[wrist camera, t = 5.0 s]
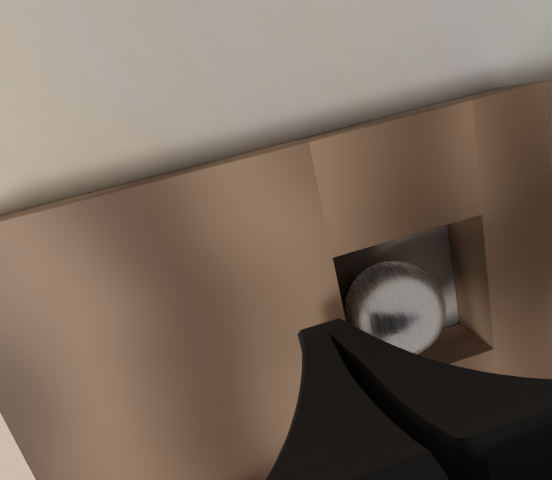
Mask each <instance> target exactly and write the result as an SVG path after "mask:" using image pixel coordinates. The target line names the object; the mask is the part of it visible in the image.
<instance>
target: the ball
mask: <svg viewBox="0 0 552 480" xmlns="http://www.w3.org/2000/svg"><path fill="white" fill-rule="evenodd" d="M346 317H347V321H348V323H349V324H351V325H353V326H355V327H357V328H359V329H361V330H363V331H365V332H367V333H369V334H370V335H372V336H375V337H377V338H379V339H381V340H383V341H385V342H387V343H390V344H392V345H394V346H397V347H399V348H402V349H404V350H407V351H409V352H412V353H414V354H419V353H421V352H423V351H425V350H426V349H428V348H429V347H430V346H431V345H432V344H433V343H434V342H435V341H436V340H437V338H438V337H439V335H440V333H441V331H442V329H443V326H444V322H445V317H446V308H445V301H444V297H443V294H442V292H441V290H440V288H439V286H438V285H437V283H436V282H435V281H434V279H433V278H432V277H431V276H430V275H429V274H427V273H426V272H425V271H424V270H422V269H420V268H419V267H417V266H415V265H412V264H410V263H406V262H402V261H386V262H381V263H377V264H375V265H372V266H370V267H369V268H367V269H365V270H364V271H363V272H362V273H360V274H359V275H358V276H357V278H356V279H355V280H354V282H353V283H352V285H351V287H350V289H349V291H348V294H347V298H346Z"/></svg>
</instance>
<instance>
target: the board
mask: <svg viewBox="0 0 552 480" xmlns="http://www.w3.org/2000/svg"><path fill="white" fill-rule="evenodd" d="M447 224H448V227H449V236H450V245H451V253H452V262H453V271H454V280H455V289H456V297H457V306H458V315H459V324H457V325H454V326H451V327H447V328H444V329H442V331H441V333H440V335H439V337H438V338H437V340H436V341H435V342H434V343H433V344H432V345H431V346H430V347H429V348H428V349H426V350H425V351H423V352H421V353H419V354H417V355H420V356H423V357H426V358H430V359H433V360H436V361H440V362H443V363H447V364H451V365H455V366H459V367H464V368H468V369H473V370H478V371H483V372H489V373H496V374H502V375H511V376H519V377H527V378H542V379H552V168H551V138H550V109H549V81H542V82H535V83H529V84H522V85H515V86H508V87H501V88H497V89H493V90H490V91H486V92H482V93H478V94H474V95H470V96H466V97H462V98H458V99H454V100H450V101H447V102H443V103H439V104H435V105H431V106H427V107H423V108H419V109H415V110H411V111H407V112H404V113H400V114H396V115H392V116H388V117H384V118H380V119H376V120H372V121H368V122H364V123H361V124H357V125H353V126H349V127H345V128H341V129H337V130H333V131H329V132H325V133H321V134H318V135H314V136H310V137H306V138H302V139H298V140H294V141H290V142H286V143H282V144H279V145H275V146H271V147H267V148H263V149H259V150H255V151H251V152H247V153H243V154H239V155H236V156H232V157H228V158H224V159H220V160H216V161H212V162H208V163H204V164H200V165H196V166H193V167H189V168H185V169H181V170H177V171H173V172H169V173H165V174H161V175H157V176H153V177H150V178H146V179H142V180H138V181H134V182H130V183H126V184H122V185H118V186H114V187H110V188H107V189H103V190H99V191H95V192H91V193H87V194H83V195H79V196H75V197H71V198H67V199H64V200H60V201H56V202H52V203H48V204H44V205H40V206H36V207H32V208H28V209H24V210H21V211H17V212H13V213H9V214H5V215H1V216H0V413H1V415H2V416H3V418H4V420H5V422H6V424H7V426H8V428H9V430H10V432H11V433H12V435H13V437H14V439H15V441H16V443H17V445H18V447H19V449H20V450H21V452H22V454H23V456H24V458H25V460H26V462H27V464H28V466H29V467H30V469H31V471H32V473H33V475H34V477H35V479H36V480H266V478H267V476H268V475H269V473H270V471H271V470H272V468H273V466H274V464H275V462H276V460H277V457H278V455H279V453H280V451H281V448H282V446H283V444H284V442H285V440H286V437H287V434H288V432H289V429H290V426H291V422H292V419H293V416H294V413H295V409H296V405H297V400H298V395H299V390H300V382H301V373H302V351H301V347H300V343H299V339H298V333H299V331H300V330H302V329H305V328H309V327H312V326H315V325H318V324H322V323H325V322H328V321H331V320H335V319H338V318H340V319H342V320H344V321H346V320H345V315H344V310H343V305H342V300H341V295H340V291H339V286H338V281H337V276H336V271H335V266H334V262H333V257H337V256H340V255H344V254H347V253H351V252H354V251H358V250H361V249H364V248H368V247H371V246H375V245H378V244H382V243H385V242H389V241H392V240H395V239H399V238H402V237H406V236H409V235H413V234H416V233H420V232H423V231H426V230H430V229H433V228H437V227H440V226H444V225H447Z"/></svg>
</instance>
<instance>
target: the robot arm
mask: <svg viewBox="0 0 552 480" xmlns="http://www.w3.org/2000/svg"><path fill="white" fill-rule="evenodd" d="M298 339H299V343H300V347H301V351H302V373H301V382H300V390H299V395H298V400H297V405H296V409H295V413H294V416H293V419H292V422H291V426H290V429H289V432H288V434H287V437H286V440H285V442H284V444H283V446H282V448H281V451H280V453H279V455H278V457H277V460H276V462H275V464H274V466H273V468H272V470H271V471H270V473H269V475H268V476H267V478H266V480H552V379H542V378H527V377H519V376H511V375H502V374H496V373H489V372H483V371H478V370H473V369H468V368H464V367H459V366H455V365H451V364H447V363H443V362H440V361H436V360H433V359H430V358H426V357H423V356H420V355H417V354H414V353H412V352H409V351H407V350H404V349H402V348H399V347H397V346H394V345H392V344H390V343H387V342H385V341H383V340H381V339H379V338H377V337H375V336H372V335H370V334H369V333H367V332H365V331H363V330H361V329H359V328H357V327H355V326H353V325H351V324H349V323H348V322H346V321H344V320H342V319H340V318H338V319H335V320H331V321H328V322H325V323H322V324H318V325H315V326H312V327H309V328H305V329H302V330H300V331H299V333H298Z"/></svg>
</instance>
